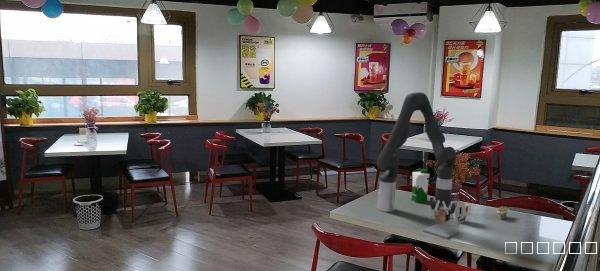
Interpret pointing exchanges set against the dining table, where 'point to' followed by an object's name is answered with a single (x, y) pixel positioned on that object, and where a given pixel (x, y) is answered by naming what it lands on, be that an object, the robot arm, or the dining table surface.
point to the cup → (460, 211)
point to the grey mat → (441, 231)
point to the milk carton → (420, 186)
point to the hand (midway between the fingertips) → (442, 219)
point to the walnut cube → (440, 215)
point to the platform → (502, 212)
